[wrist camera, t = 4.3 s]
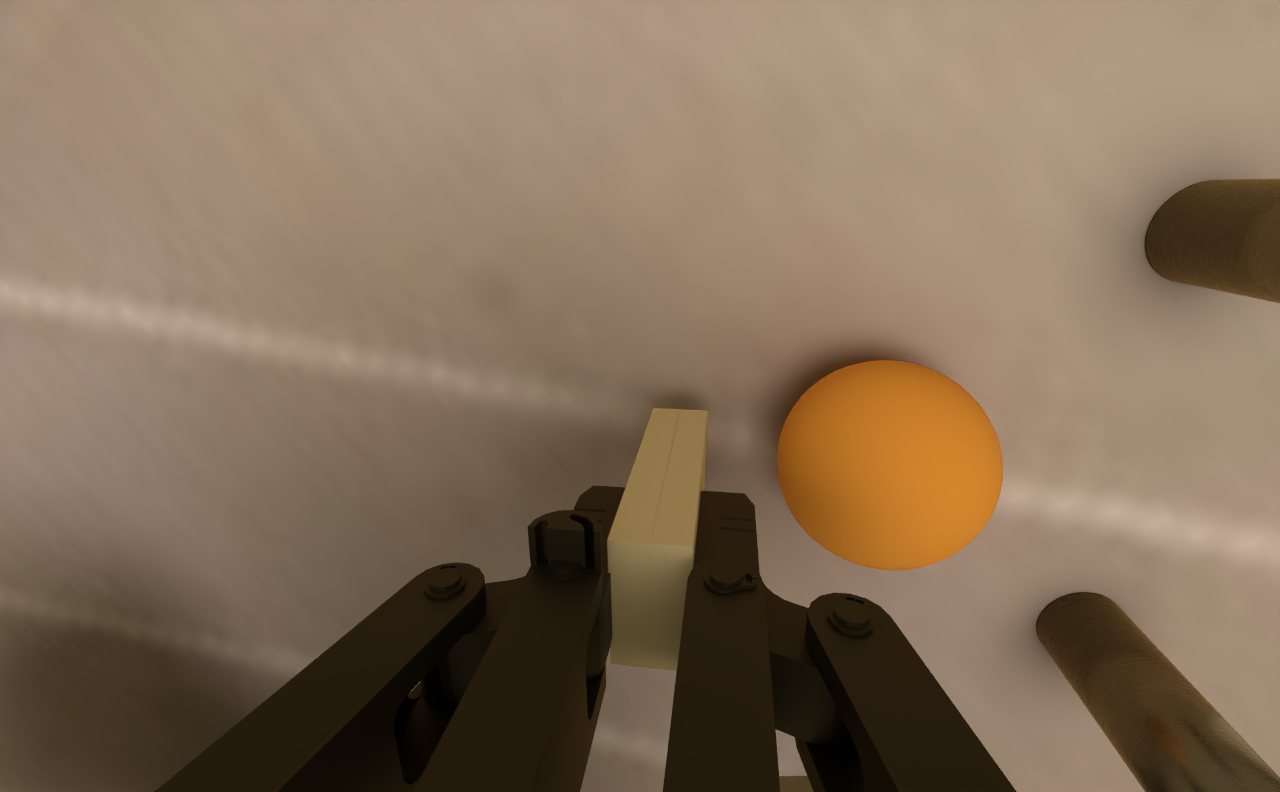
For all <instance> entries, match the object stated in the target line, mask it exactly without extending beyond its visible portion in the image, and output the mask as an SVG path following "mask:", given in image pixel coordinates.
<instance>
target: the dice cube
mask: <svg viewBox="0 0 1280 792" xmlns="http://www.w3.org/2000/svg"><path fill="white" fill-rule="evenodd" d="M779 783H780V792H814V791H813V789H812V786H811V784H810V781H809V778H808V776H779Z"/></svg>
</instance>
